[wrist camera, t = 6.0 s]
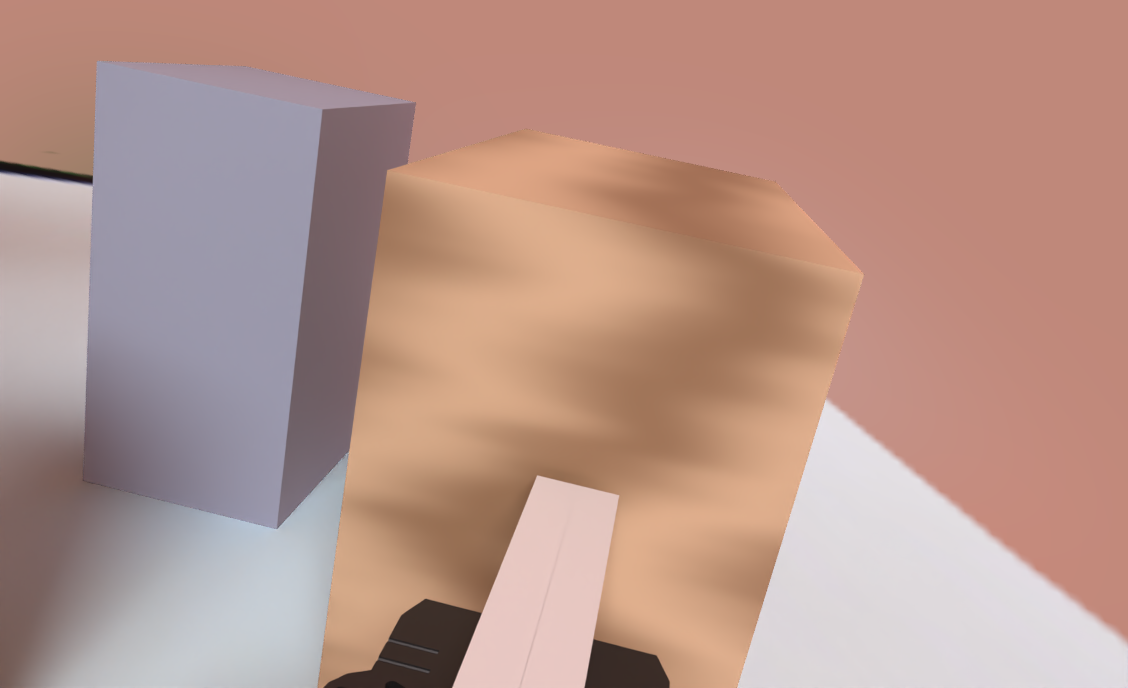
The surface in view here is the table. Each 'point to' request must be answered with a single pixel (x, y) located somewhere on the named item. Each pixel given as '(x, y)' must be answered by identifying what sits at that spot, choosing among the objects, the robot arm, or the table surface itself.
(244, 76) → the lavender block
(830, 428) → the table surface
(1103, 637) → the table surface
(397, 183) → the oak block
